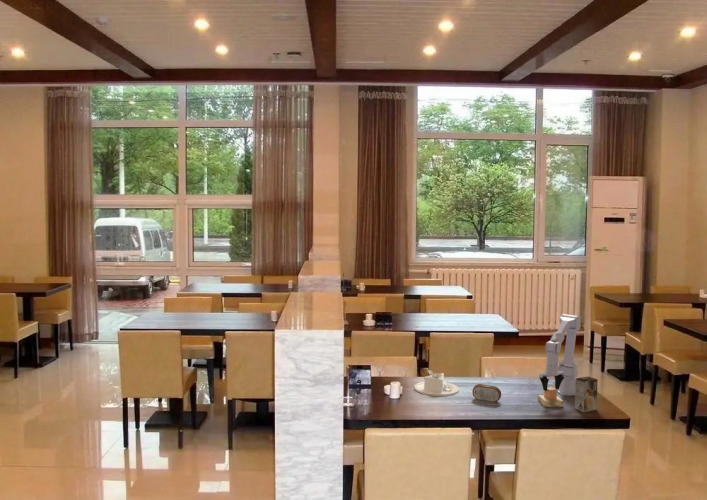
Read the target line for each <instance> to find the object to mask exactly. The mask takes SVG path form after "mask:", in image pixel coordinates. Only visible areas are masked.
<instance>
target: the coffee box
mask: <svg viewBox="0 0 707 500" xmlns="http://www.w3.org/2000/svg"><path fill="white" fill-rule="evenodd" d="M598 380H599V379H598V378H594V377H591V376H583V377H582V376H581V377H578V378H577V377H576V388H575V396H574V409H575V410H577V411H578V412H579V411H580V412H582V413H586V412H591V411H596V410H597V403H598Z"/></svg>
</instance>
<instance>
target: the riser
mask: <svg viewBox="0 0 707 500" xmlns="http://www.w3.org/2000/svg"><path fill="white" fill-rule="evenodd" d="M537 401H538V402H539V403H540V404H541V405H542V406H543V407H545V408H546V407H547V408H549V407H550V408H552V407H553V408H554V407H555V408H557V407H558V408H559V407H562V408H563V407H564V400H563V399H562V398H561V397H560V396H558V395H557V399H547V398H545V397H544V394H538V395H537Z"/></svg>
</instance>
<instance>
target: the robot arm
mask: <svg viewBox="0 0 707 500" xmlns="http://www.w3.org/2000/svg"><path fill="white" fill-rule="evenodd" d="M581 323H582V321H581V317H580V316H579V315H573V314H567V313H561V315H559V327H558V330H557V331H554V333H553V335H552V336H551V337H550V340H549V341H546V343H545V348H544V350H545V355H546V363H545V364H546V365H545V366H546V369H545V371H543V372H540V373H539V374H538V377H539V380H540V383H541V385H542V389H543V392H544V391H547V387H548V383H549V381H550V379H549V378H548V377H554V388H555V389H557V393H559V394H560V396H562V397H563V396H564V397H565V396H566V397H567V396H569V397H570V396H574V397H575V388H576V378H577V377H578V375H579V369H578V368H579V365H578V364H577V363H576V362H575V361H574V357H575V356H574V355H575V348H576V347H575V345H576V338H577V332H578V331H580V329H581ZM565 334H566V337H565ZM564 340H565V346H564V347H565V348H564V354H563V360H560V361H559V354H560V352H561V349H562V348H561V347H562V343H563V342H564Z"/></svg>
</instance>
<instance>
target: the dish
mask: <svg viewBox="0 0 707 500" xmlns="http://www.w3.org/2000/svg"><path fill="white" fill-rule="evenodd" d="M427 372H428V374H429V375H427V376H424V381H421V382H417V383H415V384H414V385H413V386H414V387H413V388H414V391H416V392H417V393H419V394H423V395H426V396H433V397H450V396H454V395H456V394H458V393H459V392H460V388H459V386H458V385H456V384H453V383H450V382H447V381H446V380H445V379H444V376H445V375H444V372H441V373H439V372H433V371H432V370H430V369H427Z"/></svg>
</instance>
